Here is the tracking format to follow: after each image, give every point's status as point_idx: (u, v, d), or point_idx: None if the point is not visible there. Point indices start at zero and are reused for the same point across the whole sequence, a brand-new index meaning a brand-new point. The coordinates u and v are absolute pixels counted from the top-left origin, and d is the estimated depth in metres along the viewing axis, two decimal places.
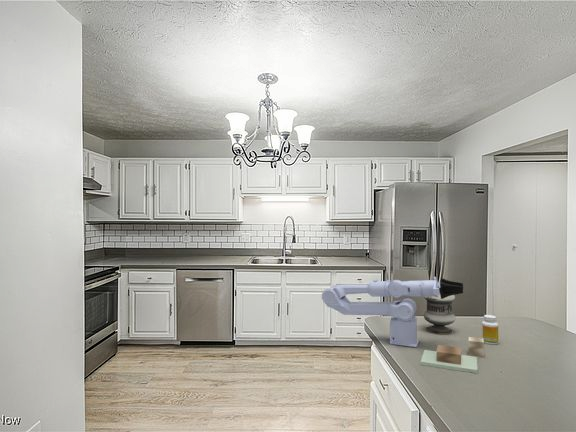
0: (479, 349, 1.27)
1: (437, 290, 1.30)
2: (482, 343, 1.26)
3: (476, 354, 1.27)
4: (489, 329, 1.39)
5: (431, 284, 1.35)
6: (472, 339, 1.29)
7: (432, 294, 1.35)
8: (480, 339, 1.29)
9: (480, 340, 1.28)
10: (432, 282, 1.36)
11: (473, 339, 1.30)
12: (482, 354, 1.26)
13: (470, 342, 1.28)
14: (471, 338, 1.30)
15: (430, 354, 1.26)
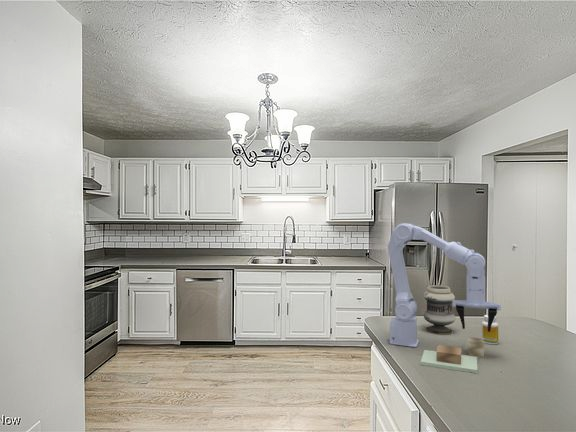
0: (479, 349, 1.27)
1: None
2: (482, 343, 1.26)
3: (476, 354, 1.27)
4: None
5: (468, 300, 1.29)
6: (472, 339, 1.29)
7: None
8: (480, 339, 1.29)
9: (480, 340, 1.28)
10: (470, 301, 1.28)
11: (473, 339, 1.30)
12: (482, 354, 1.26)
13: (470, 342, 1.28)
14: (471, 338, 1.30)
15: (430, 354, 1.26)
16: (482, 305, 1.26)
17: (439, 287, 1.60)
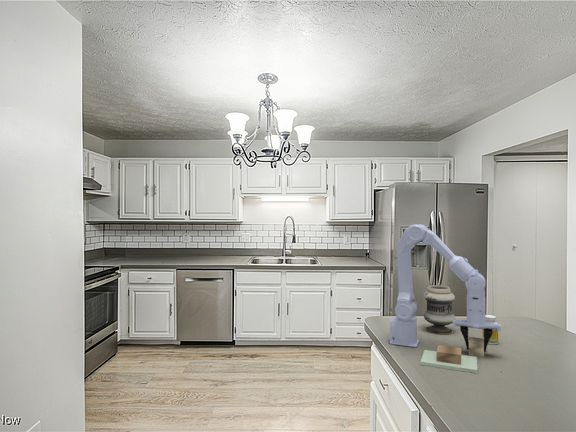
0: (479, 349, 1.27)
1: None
2: (482, 343, 1.26)
3: (476, 354, 1.27)
4: None
5: (468, 320, 1.29)
6: (472, 339, 1.29)
7: None
8: (480, 339, 1.29)
9: (480, 340, 1.28)
10: (470, 322, 1.28)
11: (473, 338, 1.30)
12: (482, 353, 1.26)
13: (470, 342, 1.28)
14: (471, 338, 1.30)
15: (430, 354, 1.26)
16: (482, 326, 1.26)
17: (439, 287, 1.60)
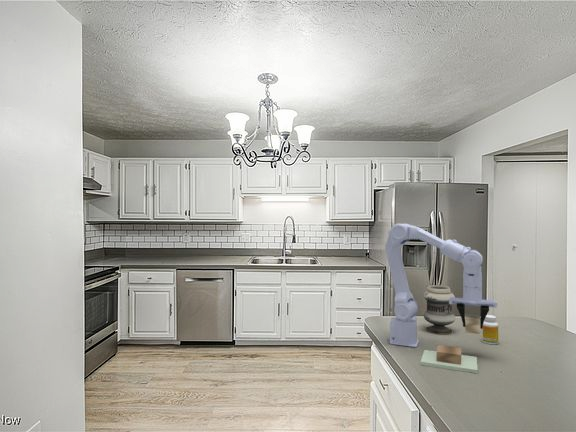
0: (475, 326, 1.26)
1: (449, 302, 1.31)
2: (479, 319, 1.25)
3: (473, 331, 1.26)
4: (489, 329, 1.39)
5: (465, 297, 1.28)
6: (469, 316, 1.28)
7: None
8: (477, 316, 1.28)
9: (477, 317, 1.27)
10: (467, 299, 1.27)
11: (470, 316, 1.29)
12: (478, 330, 1.25)
13: (467, 319, 1.27)
14: (468, 315, 1.29)
15: (430, 354, 1.26)
16: (479, 302, 1.25)
17: (439, 287, 1.60)
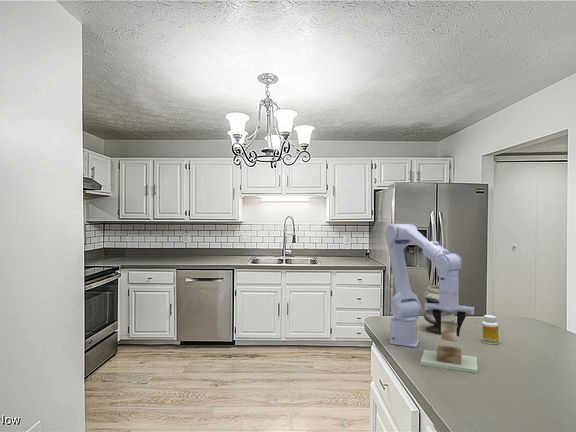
0: (451, 333, 1.19)
1: None
2: (455, 327, 1.19)
3: (448, 338, 1.20)
4: (489, 329, 1.39)
5: (441, 303, 1.21)
6: (445, 323, 1.22)
7: None
8: (453, 323, 1.22)
9: (453, 324, 1.21)
10: (443, 305, 1.20)
11: (446, 322, 1.22)
12: (455, 338, 1.19)
13: (442, 326, 1.20)
14: (444, 322, 1.23)
15: (430, 354, 1.26)
16: (455, 309, 1.19)
17: None
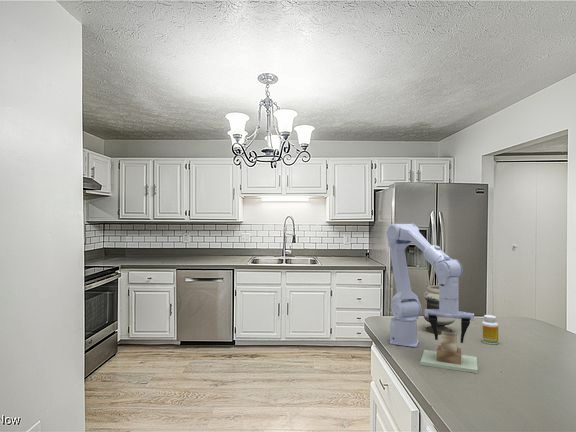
0: (451, 344, 1.19)
1: None
2: (455, 338, 1.19)
3: (448, 349, 1.20)
4: (489, 329, 1.39)
5: (441, 309, 1.21)
6: (445, 334, 1.22)
7: None
8: (453, 333, 1.22)
9: (453, 334, 1.21)
10: (443, 311, 1.20)
11: (446, 333, 1.22)
12: (455, 349, 1.19)
13: (442, 337, 1.20)
14: (444, 333, 1.23)
15: (430, 354, 1.26)
16: (455, 315, 1.19)
17: None
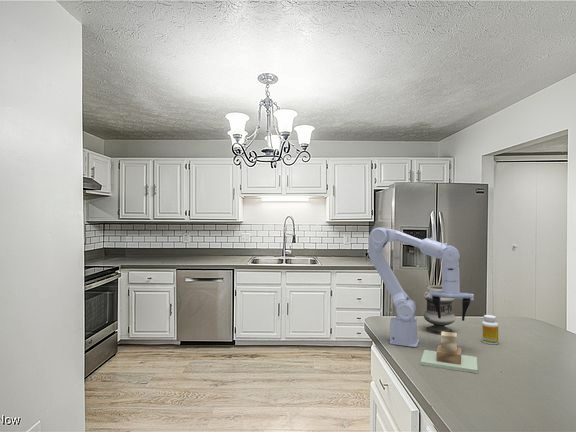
0: (451, 344, 1.19)
1: (429, 295, 1.38)
2: (455, 338, 1.19)
3: (448, 349, 1.20)
4: (489, 329, 1.39)
5: (443, 291, 1.34)
6: (445, 334, 1.22)
7: None
8: (453, 333, 1.22)
9: (453, 334, 1.21)
10: (445, 292, 1.34)
11: (446, 333, 1.22)
12: (455, 349, 1.19)
13: (442, 337, 1.20)
14: (444, 333, 1.23)
15: (430, 354, 1.26)
16: (456, 295, 1.32)
17: (439, 287, 1.60)
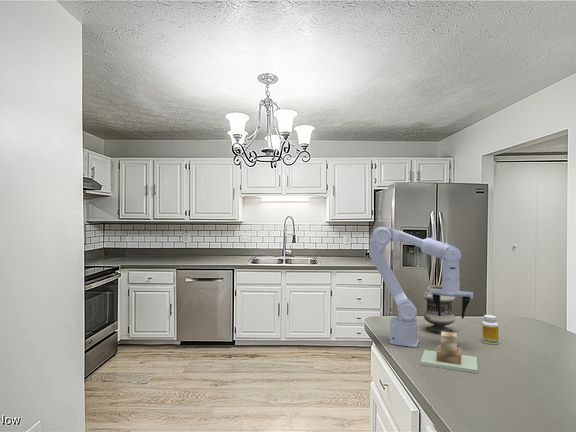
0: (451, 344, 1.19)
1: None
2: (455, 338, 1.19)
3: (448, 349, 1.20)
4: (489, 329, 1.39)
5: (444, 289, 1.37)
6: (445, 334, 1.22)
7: None
8: (453, 333, 1.22)
9: (453, 334, 1.21)
10: (445, 290, 1.37)
11: (446, 333, 1.22)
12: (455, 349, 1.19)
13: (442, 337, 1.20)
14: (444, 333, 1.23)
15: (430, 354, 1.26)
16: (456, 293, 1.35)
17: (439, 287, 1.60)
